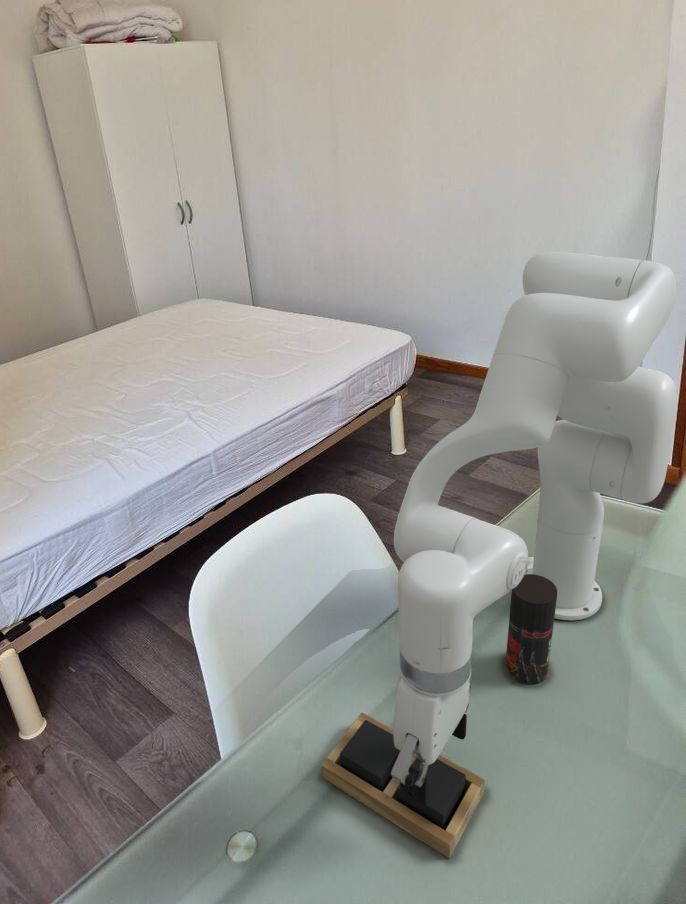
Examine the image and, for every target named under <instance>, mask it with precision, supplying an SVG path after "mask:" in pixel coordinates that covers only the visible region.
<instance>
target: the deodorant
mask: <svg viewBox="0 0 686 904" xmlns="http://www.w3.org/2000/svg"><path fill="white" fill-rule="evenodd" d="M525 574H526V573H525ZM525 574H524V576H523V578H522V580H521V581H520V583H519V584H518V585H517V586H516V587H515V588H513V589H511V595H510V605H509V618H508V630H507V639H506V640H507V641H506V653H505V666H504V667H505V671H506V672H507V675H508V676H510V678H512V679H513V680H514V681H516V682H518V683H520V684H524V685H530V686H531V685H532V686H534V685H538V684H541V683H543V682H544V681H545V680H546V679H547V676H548V673H549V666H550V658H551V650H552V642H553V633H554V626H555V625H554V624H555V618H554V617H555V609H556V601H557V588H556V586H555V585H554V583H553V582H551V581H550V580H549V579H547V578H545V577H542V576H539V575H534V574H526V575H525Z"/></svg>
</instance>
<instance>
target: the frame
mask: <svg viewBox="0 0 686 904" xmlns="http://www.w3.org/2000/svg"><path fill="white" fill-rule="evenodd" d="M365 720H367V721H369V722H371V723H373V724H375V725H376V726H378V727H380V728H382V729H384V730H385V731H387V732H389V733H391V734H393V735H394V728H391V727H390V726H388V725H386V724H384V723H383V722H381V721H378V720H377V719H375V718H373V717H372V716H370V715H368V714H366V713H364V712H361V713H360V714H359V716H357V718H356V719H355V721H354V722H353V723H352V725H351V726H350V727H349V728H348V730H347V731H346V733H344V735H343V736H342V737H341V739H340V740H339V742H337V744H336V745H335V747H334V748H333V749H332V750H331V752H330V753H329V755H328V756H327V757H326V758H325V760H324V761H323V762H322V764H321V774H322V779H323V780H325V781H326V782H328V783H330V784H331V785H333V786H334V787H336V788H337V789H339V790H341V791H342V792H344V793H345V794H347V795H349V796H350V797H352V798H354V800H356V801H358V802H360V803H361V804H362V805H364V806H365V807H368V808H369V809H371V810H372V811H374V812H375V813H377V814H378V815H380V816H382V817H383V818H384V819H386V820H388V821H390V822H391V823H392V824H394V825H396V826H397V827H399V828H400V829H402V830H404V831H405V832H407V833H408V834H410V835H412V836H413V837H414V838H416V839H418V840H419V841H421V842H422V843H424V844H425V845H427V846H429V847H430V848H432V849H433V850H435V851H437V852H438V853H440V854H441V855H443V856H445V857H446V858H448V859H451V857H452V855H453V853H454V851H455V849H456V848H457V845H458V843H459V841H460V840H461V838H462V835H463V834H464V832H465V830H466V828H467V826H468V825H469V823H470V820H471V819H472V817H473V815H474V813H475V812H476V810H477V807H478V805H479V804H480V802H481V800H482V798H483V796H484V794H485V784H486V779H485V778H482V777H481V776H478V775H477V774H475V773H473V772H471V771H470V770H468V769H466V768H464V767H462V766H460V765H458V764H457V763H455V762H453V761H451V760H450V759H448V758H446V757H444V756H442V755H441V754H440V755H439V756H438V758H437V759H438V760H440V761H442V762H444V763H445V764H447V765H449V766H451V767H453V768H454V769H456V770H458V771H460V772H462V773H464V774H465V775H466V780H465V796H464V798H463V799H462V801H461V803H460V805H459V807H458V808H457V810H456V812H455V814H454V816H453V818H452V819H451V821H450V823H449V825H448V827H447V828H446V831H445V830H443V829H442V828H440V827H438V826H437V825H435V824H433V823H432V822H430V821H429V820H427V819H425V818H424V817H422V816H420V815H419V814H417V813H416V812H414V811H412V810H411V809H409V808H407V807H406V806H404V805H403V804H401V803H399V802H398V801H397V787H398V785H399V784H400V782H399V781H398V780H396V779H395V778H394V777H393V778H392V779H391V781H390V782H389V784H388V785H387V787H386V788H385V790H384V791H383V792H381V791H380V790H378V789H376V788H375V787H373V786H372V785H370V784H368V783H367V782H365V781H363V780H362V779H360V778H359V777H357V776H355V775H354V774H352V773H350V772H349V771H347V770H346V769H344V768H342V767H341V763H340V753H341V751H342V750H343V749H344V747H345V746H346V745H347V743H348V742H349V741H350V739H351V738H352V737H353V735H354V734H355V733H356V731H357V730H358V729H359V727H360V726H361V725H362V723H363V722H364V721H365ZM418 750H419V747H418ZM415 759H416V758H415V757H414V758H413V760H412V763H411V765H412V764H413V762H414V760H415ZM411 765H410V767H411Z"/></svg>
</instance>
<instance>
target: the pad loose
mask: <svg viewBox="0 0 686 904" xmlns="http://www.w3.org/2000/svg"><path fill="white" fill-rule="evenodd" d="M421 762H422V761H420V760H418V759H415V760H414V762H413V764H412V765H411V767H412V768H414V769H416V770H417V771H419V768H420V765H421ZM425 777H426V778H427V779H428V802H427V803H426V805H423V804H421V803H419V802H418V801H412V800H410V799H409V798H407V797H406V796H405V795H404V793H403V792H402V791H401V789H400V784H399V785H398V787H397V801H398V802H399V803H401V804H403V805H404V806H406V807H407V808H409V809H411V810H412V811H414V812H416V813H417V814H419V815H420V816H422V817H424V818H425V819H427V820H429V821H430V822H432V823H433V824H435V825H437V826H438V827H440V828H442V829H443V830H445V831H446V828H447V827H448V825H449V823H450V821H451V819H452V818H453V816H454V814H455V812H456V810H457V808H458V807H459V805H460V803H461V801H462V799H463V798H464V796H465V794H466V792H465V780H466V775H465V774H464V773H462V772H460V771H458V770H456V769H454V768H453V767H451V766H449V765H447V764H445V763H444V762H442V761H440V760H438V759H436V760H435V762H434V763H432V764H430V765H429V766H428V769H427V772H426V776H425Z"/></svg>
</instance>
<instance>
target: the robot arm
mask: <svg viewBox="0 0 686 904" xmlns="http://www.w3.org/2000/svg"><path fill="white" fill-rule="evenodd" d="M522 290H523V293H524V295H523V296H521V297H519V298H517V299H516V300H515V301H514V302H513V303H512V304H511V305H510V307H509V308H508V311H507V313H506V315H505V318H504V321H503V325H502V327H501V329H500V333H499V336H498V339H497V342H496V345H495V348H494V351H493V354H492V358H491V361H490V364H489V366H488V370H487V372H486V376H485V378H484V382H483V385H482V388H481V391H480V394H479V397H478V400H477V404H476V406H475V410H474V412H473V413H472V416H471V417H470V418H469V419H468V420H467V421H466V422H465V423H463V424H462V425H460V426H458V427H457V428H456V429H455V430H453V431H451V432H449V433H448V434H447V435H446V436H445V437H443V438H441V439H440V440H439V441H438V442H437V443H436V444H435V445H433V447H432V448H431V449H429V451H428V452H427V453H426V454H425V456H424V457H423V458H422V459H421V461H420V462H419V464H418V465H417V466H416V468H415V469H414V471H413V473H412V475H411V477H410V480H409V482H408V485H407V488H406V491H405V493H404V497H403V500H402V502H401V505H400V508H399V511H398V514H397V518H396V521H395V527H394V531H393V548H394V551H395V553H396V555H397V557H398V558H399V560H401V562H402V563H403V564H402V565H401V567H400V569H399V572H398V577H397V604H398V608H397V609H398V645H399V646H398V647H399V672H400V674H401V677H400V679H399V681H398V686H397V691H396V697H395V704H394V717H393V730H394V745H395V747H396V748H397V749H398V750H400V753H399V755H398V758H397V760H396V762H395V764H394V767H393V769H392V771H391V776H392V777H394V778H395V779H396V780H398V781H399V782H400V789H401V791H402V792H403V793H404V795H405V796H406V797H407V798H409V799H410V800H412V801H418V802H419V803H421V804H423V805H426V803H427V802H428V779H427V778H426V777H425V776H426V772H427V769H428V766H429V765H430V764H432V763H434V762H435V760H436V759H437V758H438V756H439V755H440V756H441V754H442V751H443V750H444V749H445V746H446V745H447V744H448V742H449V740H450V738H451V737H452V736H453V737H455V738H457V739H459V740H462V741H463V740H465V738H466V737H467V722H468V714H466V713H467V711H468V709H469V705H470V704H469V701H470V691H471V676H472V672H473V665H472V661H473V637H474V636H473V635H474V618H475V617H476V616H477V615H478V614H480V613H481V612H482V611H484V610H485V609H486V608H488V607H489V606H491V605H492V604H494V603H495V602H497V601H498V600H500V599H501V598H503V597H504V596H505V595H507V594H508V593H509V592H510V591H512V589H513V588H515V587H516V586H517V585H518V584H519V583H520V581H521V580H522V578H523V576H524V575H526V574H534V575H539V576H542V577H545V578H547V579H549V580H550V581H551V582H553V583H554V585H555V586H556V588H557V601H556V609H555V617H554V619H557V620H561V621H562V620H563V621H578V620H579V621H580V620H585V619H588V618H590V617H592V616H594V615H595V614H596V613H597V612H598V611H599V610H600V608H601V606H602V603H603V592H602V589H601V587H600V585H599V584H598V582H597V581H596V580H595V579H596V572H597V566H598V560H599V553H600V547H601V539H602V533H603V526H604V519H605V505H604V502H603V499H602V496H601V495H605V496H608V497H612V498H615V499H619V500H621V501H626V502H629V503H634V504H648V503H650V502H652V501H654V500H655V499H656V498H657V497H658V496H659V495H660V493H661V491H662V489H663V487H664V484H665V480H666V476H667V472H668V465H669V460H670V453H671V447H672V441H673V435H674V428H675V422H676V415H677V406H678V391H677V386H676V383H675V381H674V380H673V378H671V376H670V375H668V374H666V373H665V372H663V371H660V370H657V369H653V368H648V367H643V366H640V365H641V363H642V362H643V361H644V359H645V357H646V355H647V354H648V352H649V351H650V349H651V347H652V346H653V344H654V342H655V341H656V339H657V338H658V336H659V335H660V333H661V331H662V330H663V328H664V327H665V325H666V324H667V322H668V320H669V318H670V316H671V314H672V311H673V310H674V306H675V304H676V303H675V302H676V299H677V292H678V286H677V278H676V276H675V273H674V271H673V270H672V269H671V268H670V267H669V266H668V265H666V264H664V263H663V262H662V263H661V262H658V261H654V260H647V259H646V260H645V259H637V258H628V257H627V258H626V257H615V256H607V255H600V254H592V253H582V252H581V253H580V252H570V251H569V252H568V251H555V250H554V251H553V250H552V251H549V250H548V251H544V252H539V253H536V254H535V255H533V256H532V257H530V259H528V260H527V262H526V264H525V265H524V269H523V271H522ZM557 417H558V418H560V420H557ZM536 448H537V463H538V471H539V501H538V512H537V522H536V532H535V541H534V552H533V563H532V568H530V569H529V570H527V568H528V561H529V560H528V559H529V551H528V547H527V544H526V542H525V540H524V539H523V537H521V536H520V535H518V534H517V533H516V532H513V531H512V530H509V529H507V528H505V527H502V526H499V525H497V524H493V523H490V522H487V521H484V520H482V519H478V518H477V517H474V516H470V515H469V514H464V513H463V512H460V511H458V510H457V511H456V510H453V509H451V508H448V507H445V506H443V505H439V502H440V500H441V496H442V493H443V491H444V489H445V487H446V485H447V483H448V482H449V480H451V477H453V475H454V474H455V473H456V472H457V471H458V470H460V469H461V468H462V467H463V466H465V465H467V464H469V463H470V462H472V461H475V460H477V459H479V458H483V457H486V456H490V455H494V454H495V455H496V454H499V453H507V452H515V451H525V450H532V449H536ZM418 747H419V750H418ZM414 757H415V758H416V759H418V760H420V761H422V762H421V765H420V768H419V771H417V770H416V769H414V768H412V767H410V765H411V763H412V760H413V758H414Z"/></svg>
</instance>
